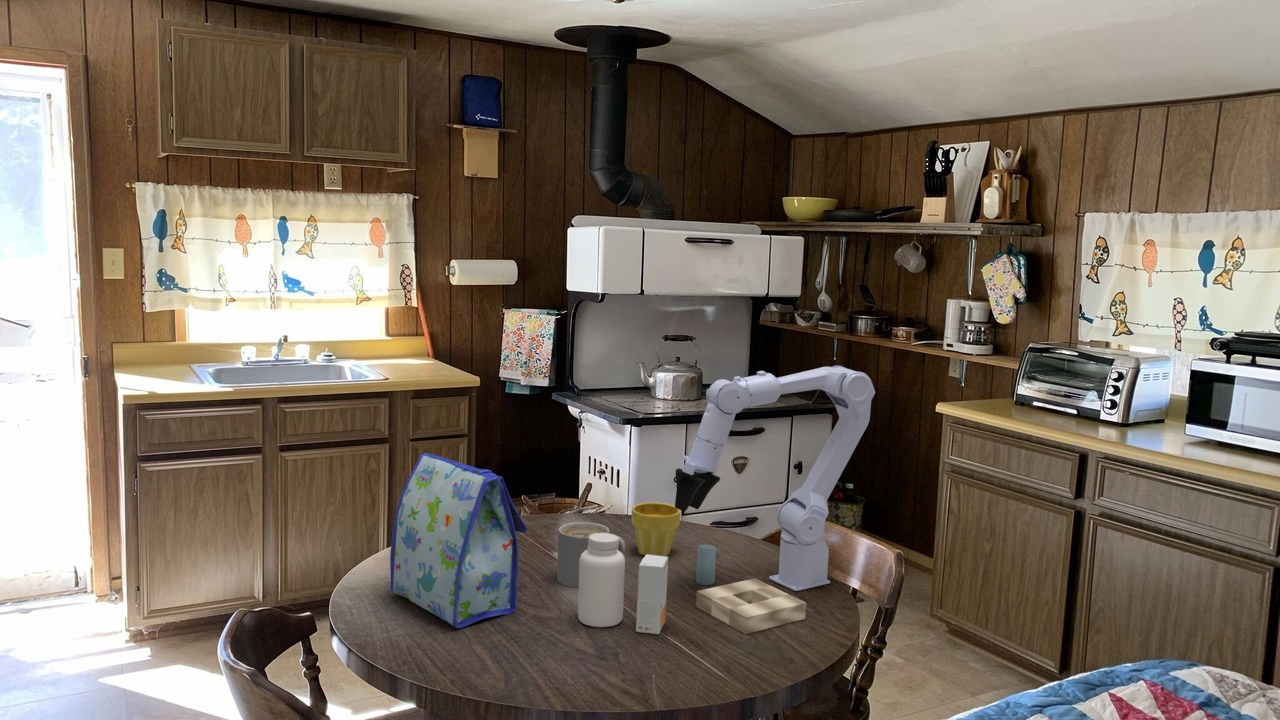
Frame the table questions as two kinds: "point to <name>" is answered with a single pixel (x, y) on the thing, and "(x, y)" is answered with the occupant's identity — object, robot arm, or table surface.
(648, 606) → the skincare box
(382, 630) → the table surface
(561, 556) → the coffee mug
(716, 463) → the robot arm
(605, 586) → the pill bottle
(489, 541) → the lunch bag
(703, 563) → the peg
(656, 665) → the table surface
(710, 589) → the socket block
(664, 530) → the plant pot
